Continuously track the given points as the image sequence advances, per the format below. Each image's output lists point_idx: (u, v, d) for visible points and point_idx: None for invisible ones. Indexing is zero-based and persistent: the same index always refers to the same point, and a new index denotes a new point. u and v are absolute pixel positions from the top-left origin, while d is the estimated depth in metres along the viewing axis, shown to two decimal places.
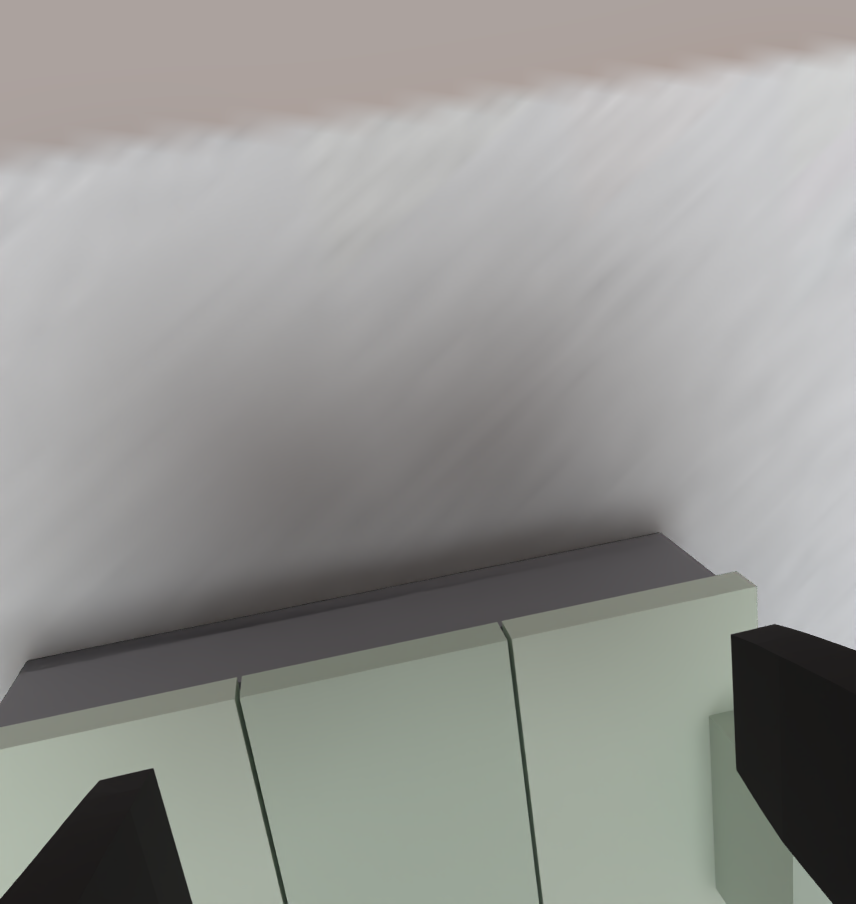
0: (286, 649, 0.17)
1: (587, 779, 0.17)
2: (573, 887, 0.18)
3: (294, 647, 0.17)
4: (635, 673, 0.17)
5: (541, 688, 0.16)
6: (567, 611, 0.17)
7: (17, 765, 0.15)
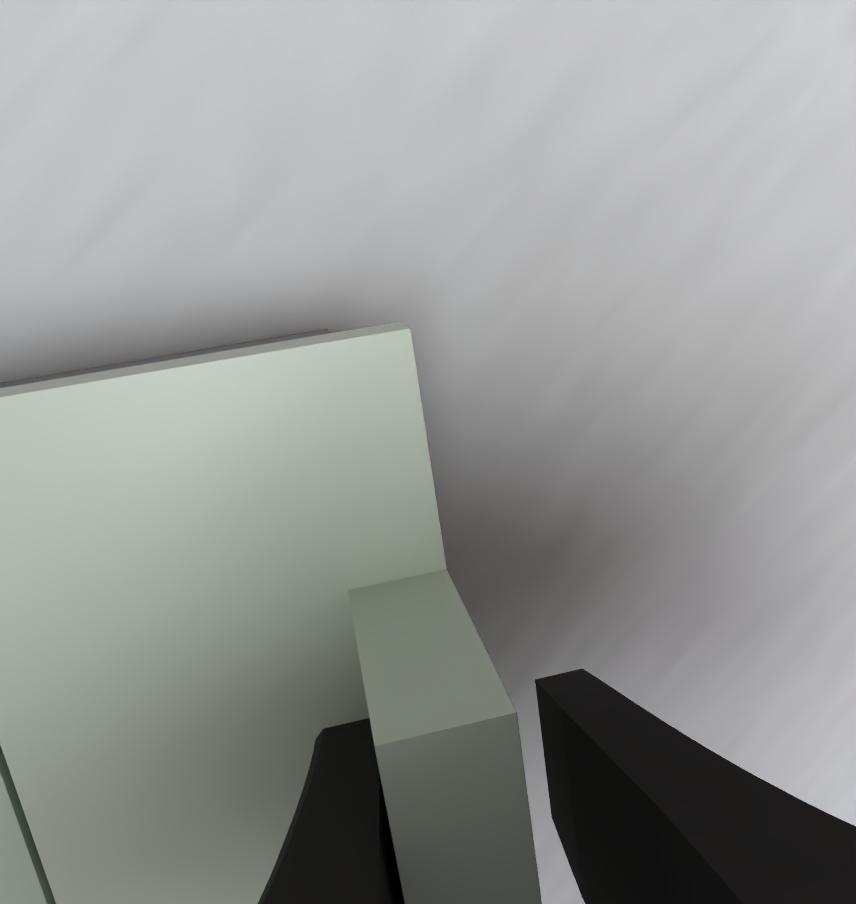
0: None
1: (114, 710, 0.09)
2: None
3: None
4: (177, 500, 0.09)
5: None
6: (48, 382, 0.09)
7: None
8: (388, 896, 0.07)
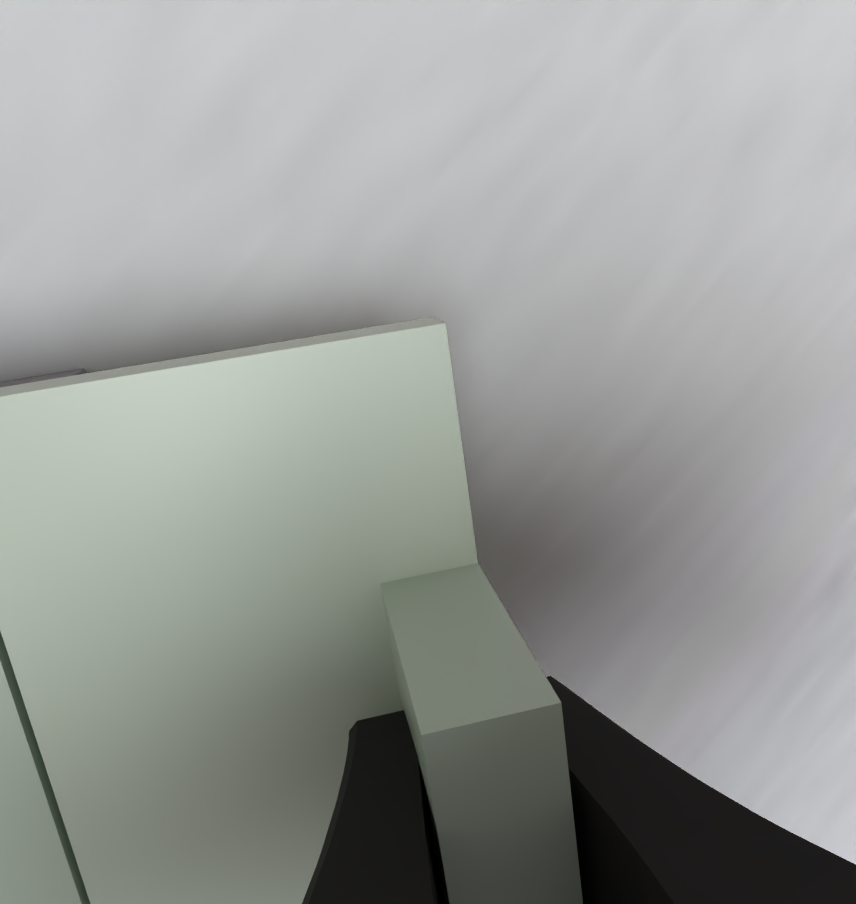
0: None
1: (148, 702, 0.09)
2: None
3: None
4: (213, 492, 0.09)
5: (14, 516, 0.08)
6: (85, 375, 0.09)
7: None
8: (434, 884, 0.07)
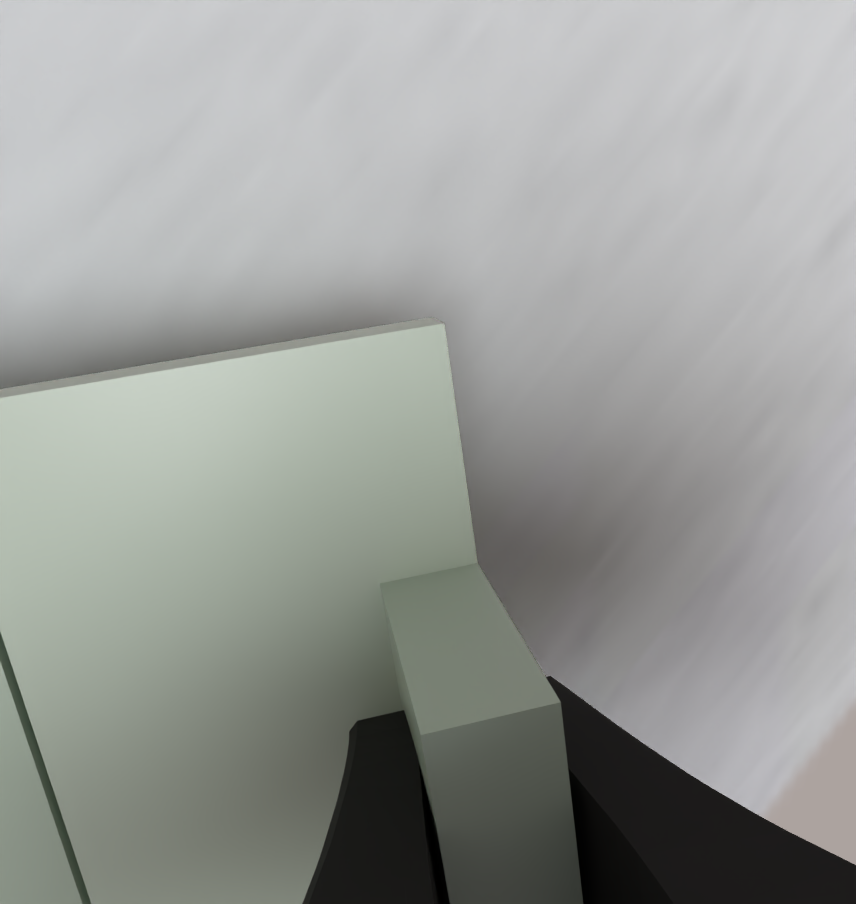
0: None
1: (148, 703, 0.09)
2: None
3: None
4: (212, 493, 0.09)
5: (13, 517, 0.08)
6: (84, 376, 0.09)
7: None
8: (434, 884, 0.07)
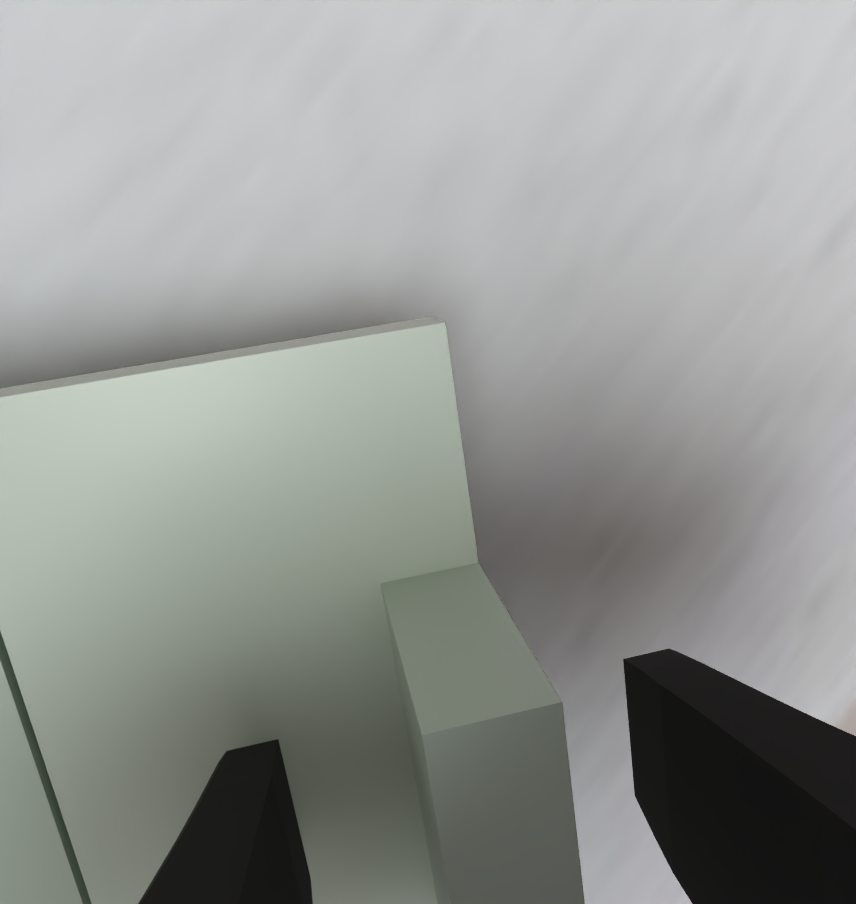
0: None
1: (149, 702, 0.09)
2: None
3: None
4: (213, 493, 0.09)
5: (13, 516, 0.08)
6: (84, 376, 0.09)
7: None
8: None
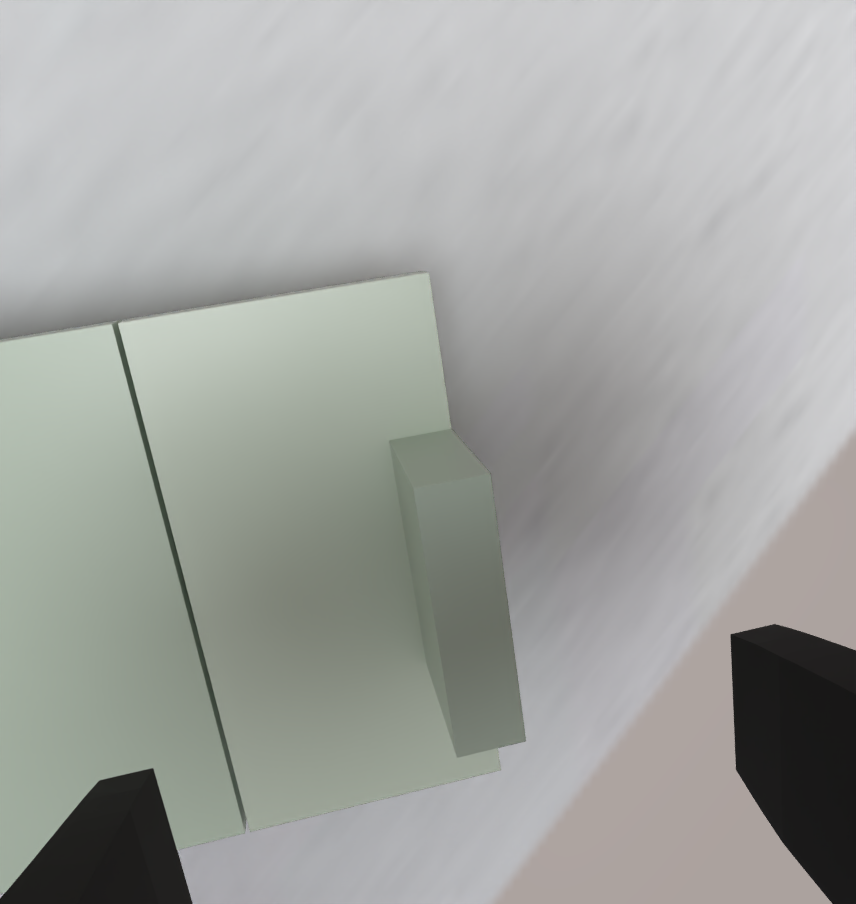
0: None
1: (243, 515, 0.14)
2: (244, 654, 0.15)
3: None
4: (285, 379, 0.14)
5: (166, 391, 0.14)
6: (205, 306, 0.14)
7: None
8: None
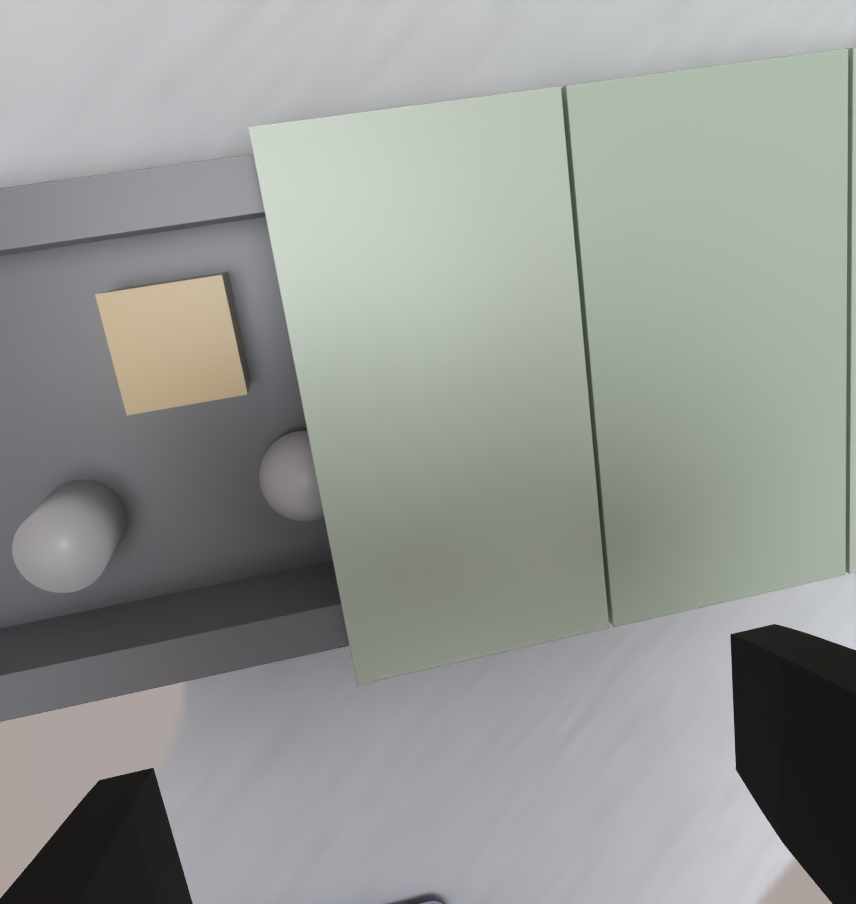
0: None
1: None
2: None
3: None
4: None
5: None
6: None
7: (328, 143, 0.13)
8: None
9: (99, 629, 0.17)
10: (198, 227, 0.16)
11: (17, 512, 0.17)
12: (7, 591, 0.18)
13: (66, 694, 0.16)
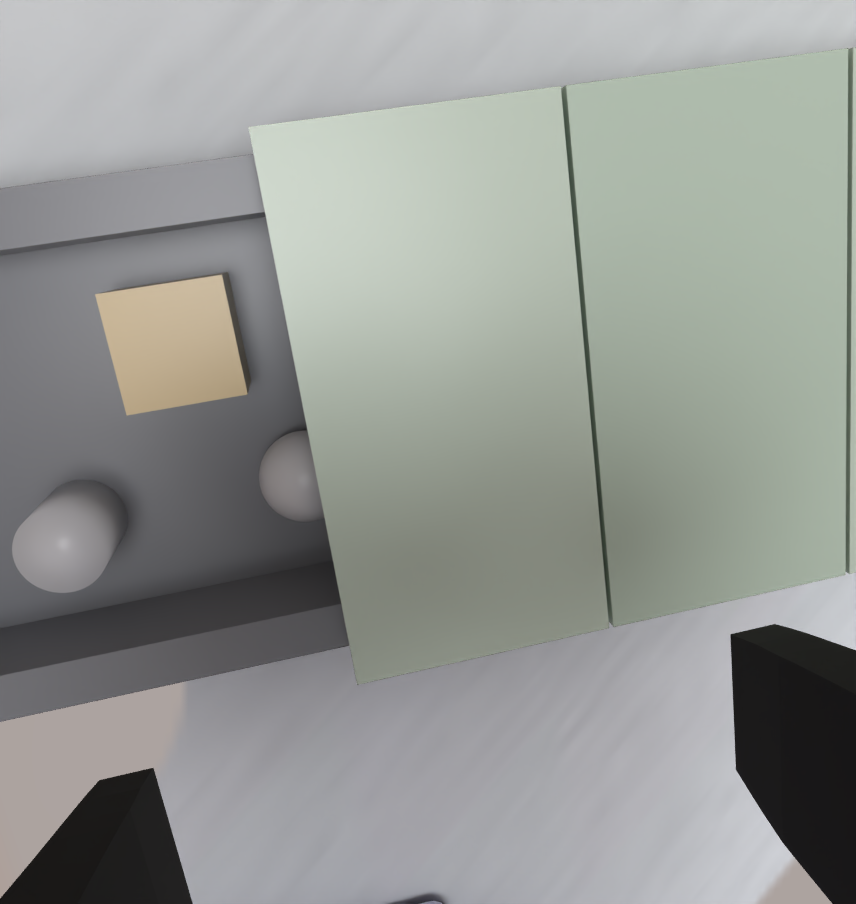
0: None
1: None
2: None
3: None
4: None
5: None
6: None
7: (328, 143, 0.13)
8: None
9: (99, 629, 0.17)
10: (198, 227, 0.16)
11: (17, 512, 0.17)
12: (7, 591, 0.18)
13: (66, 694, 0.16)
